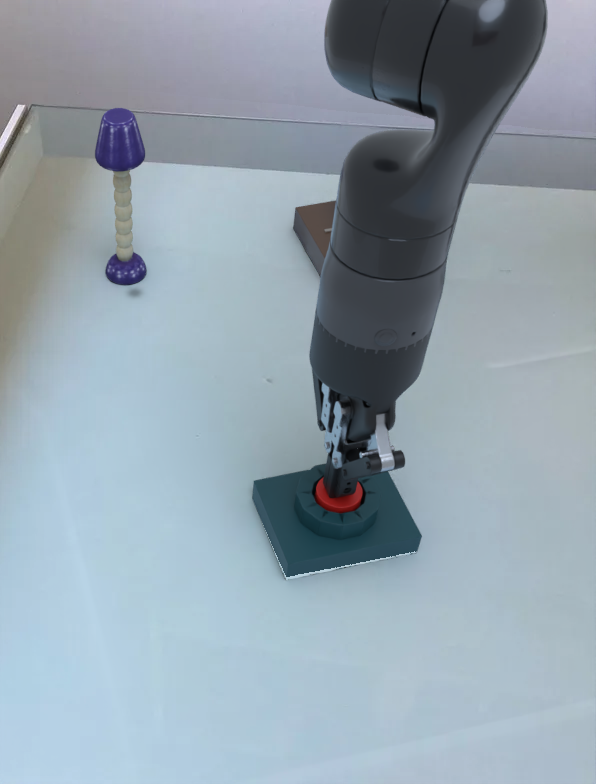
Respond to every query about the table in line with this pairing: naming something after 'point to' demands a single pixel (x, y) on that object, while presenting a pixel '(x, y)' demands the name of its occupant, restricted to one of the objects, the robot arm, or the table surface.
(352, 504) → the light button
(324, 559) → the switch block
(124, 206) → the toy lamp
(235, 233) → the table surface
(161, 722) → the table surface
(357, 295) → the robot arm
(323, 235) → the dimmer panel
